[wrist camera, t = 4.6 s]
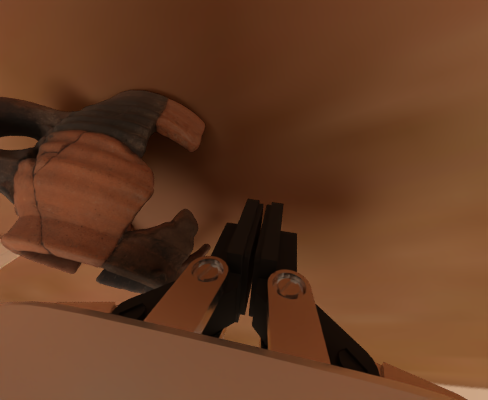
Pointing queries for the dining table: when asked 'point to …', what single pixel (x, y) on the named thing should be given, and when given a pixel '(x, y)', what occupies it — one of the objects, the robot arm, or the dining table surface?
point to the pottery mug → (96, 188)
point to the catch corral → (6, 256)
